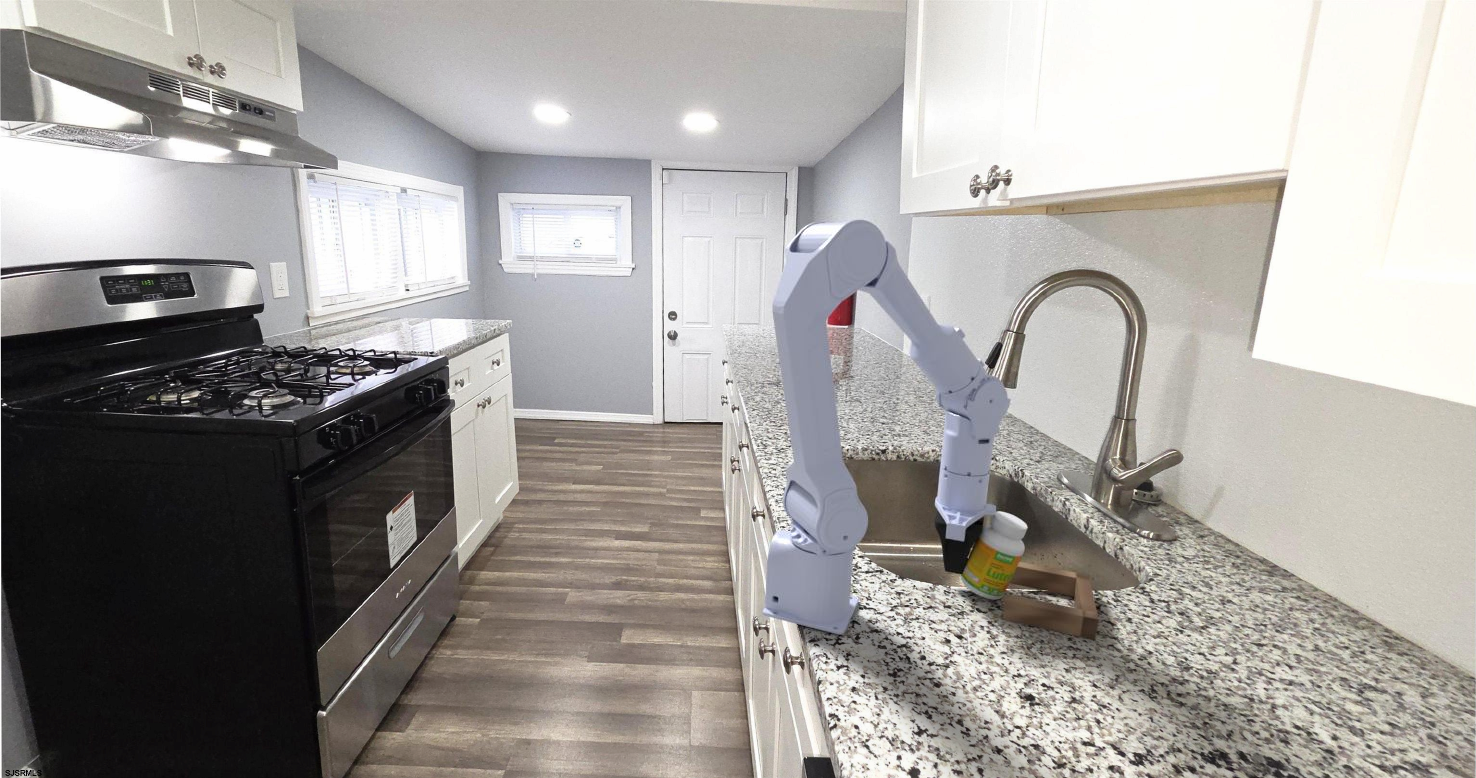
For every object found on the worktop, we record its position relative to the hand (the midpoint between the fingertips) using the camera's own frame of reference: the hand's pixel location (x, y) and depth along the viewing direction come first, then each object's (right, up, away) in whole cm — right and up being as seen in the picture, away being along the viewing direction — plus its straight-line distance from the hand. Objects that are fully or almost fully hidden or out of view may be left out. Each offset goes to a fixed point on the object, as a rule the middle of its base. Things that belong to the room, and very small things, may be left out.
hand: (953, 570), depth 82 cm
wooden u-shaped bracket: (+9, -3, -3) cm, 10 cm away
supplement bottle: (+3, -2, -1) cm, 4 cm away
